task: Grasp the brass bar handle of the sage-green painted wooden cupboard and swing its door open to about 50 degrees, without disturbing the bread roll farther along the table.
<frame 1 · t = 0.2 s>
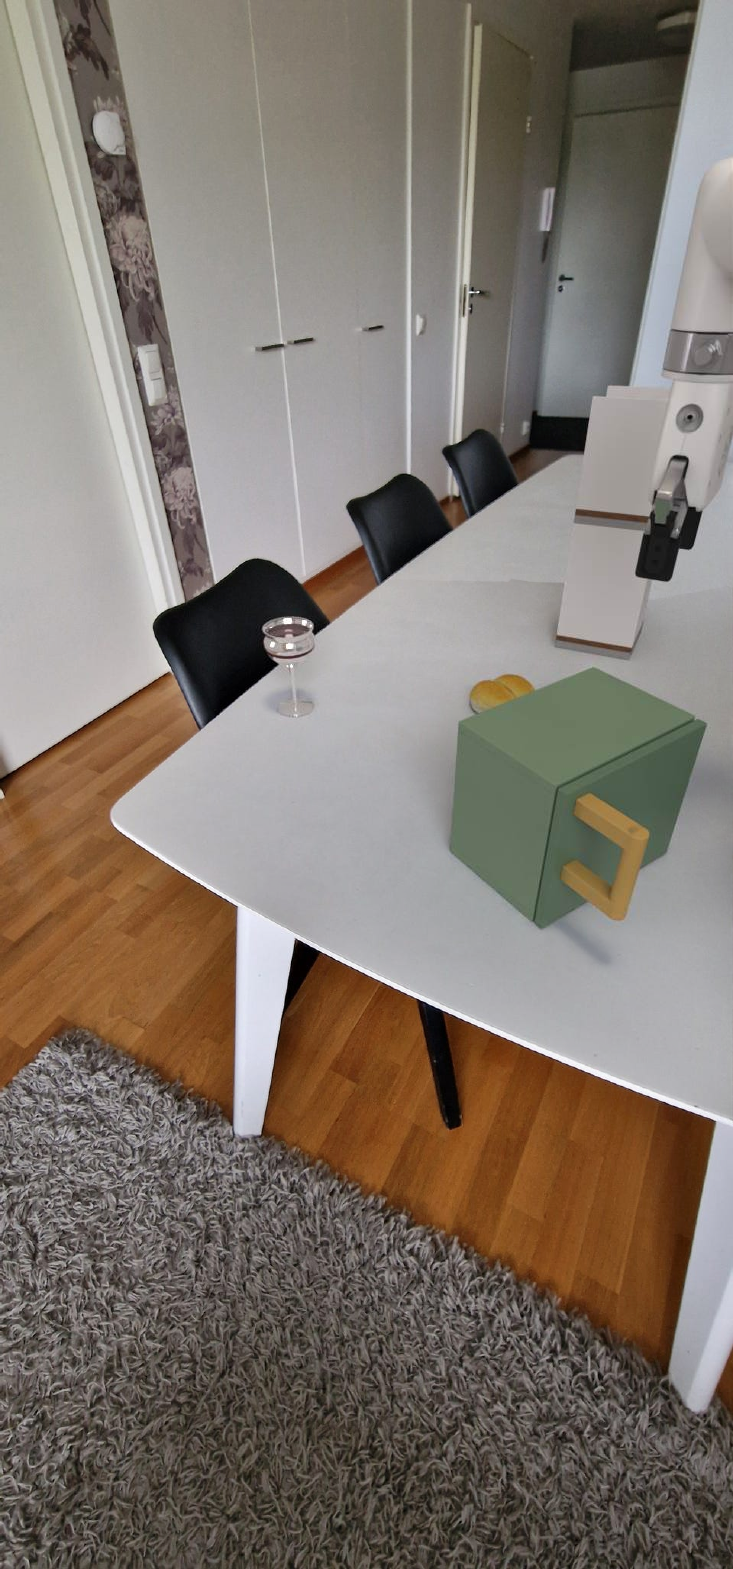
hand: (664, 562, 68), 26 cm above the table, tool pointing down, fingers open, 9 cm apart
cupboard: (552, 849, 74), on the table
tall white column: (598, 640, 113), on the table
cupboard door: (647, 843, 62), point 8 cm above the table, hinge at 0.0°
bread roll: (502, 707, 97), on the table
wineglass: (295, 708, 98), on the table
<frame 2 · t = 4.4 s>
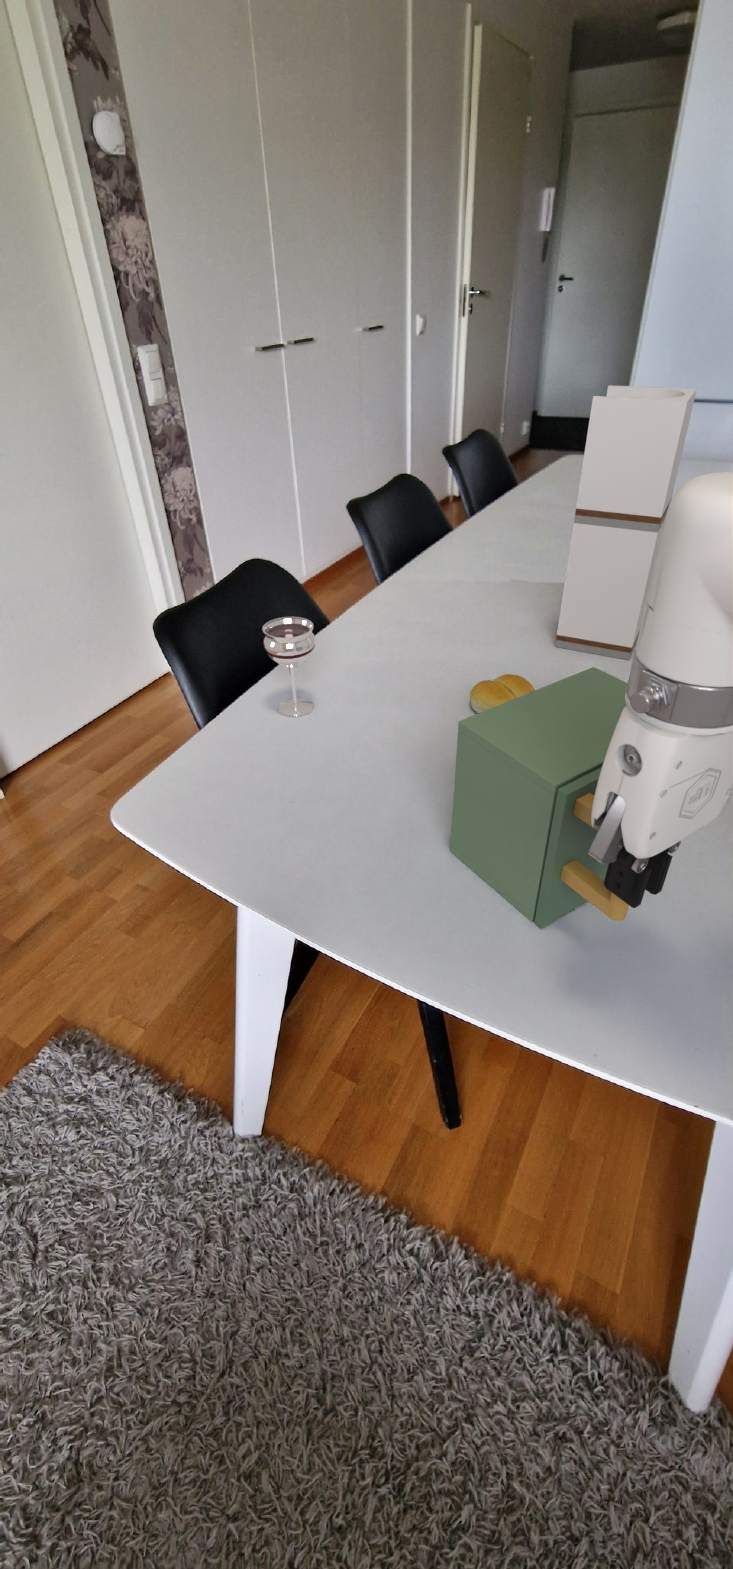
hand: (631, 888, 56), 9 cm above the table, tool pointing down, fingers closed on cupboard door
cupboard door: (647, 843, 62), point 8 cm above the table, hinge at 0.0°, touching gripper
everything else where it was.
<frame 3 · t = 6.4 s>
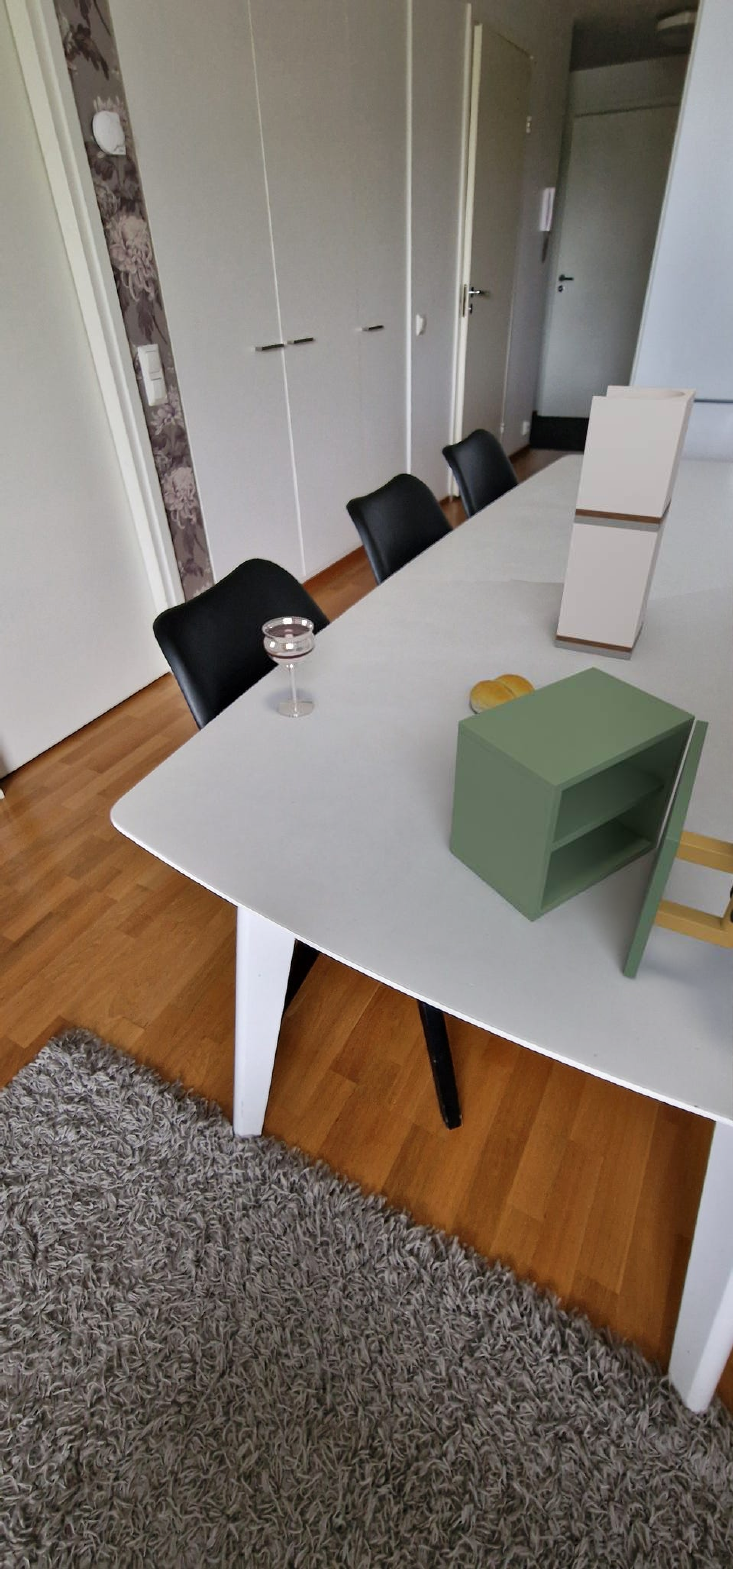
cupboard door: (705, 856, 61), point 8 cm above the table, hinge at 28.6°, touching gripper
everything else where it was.
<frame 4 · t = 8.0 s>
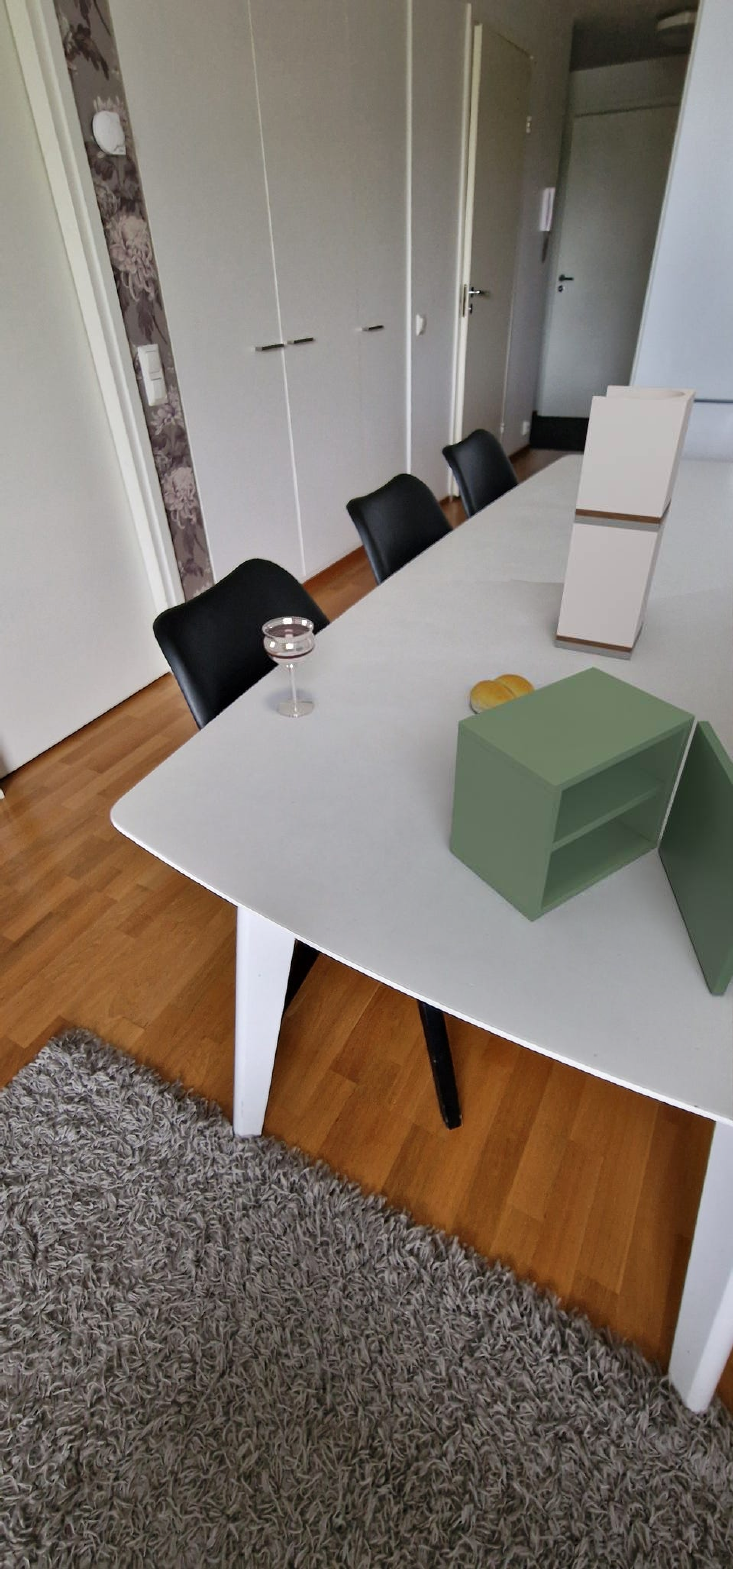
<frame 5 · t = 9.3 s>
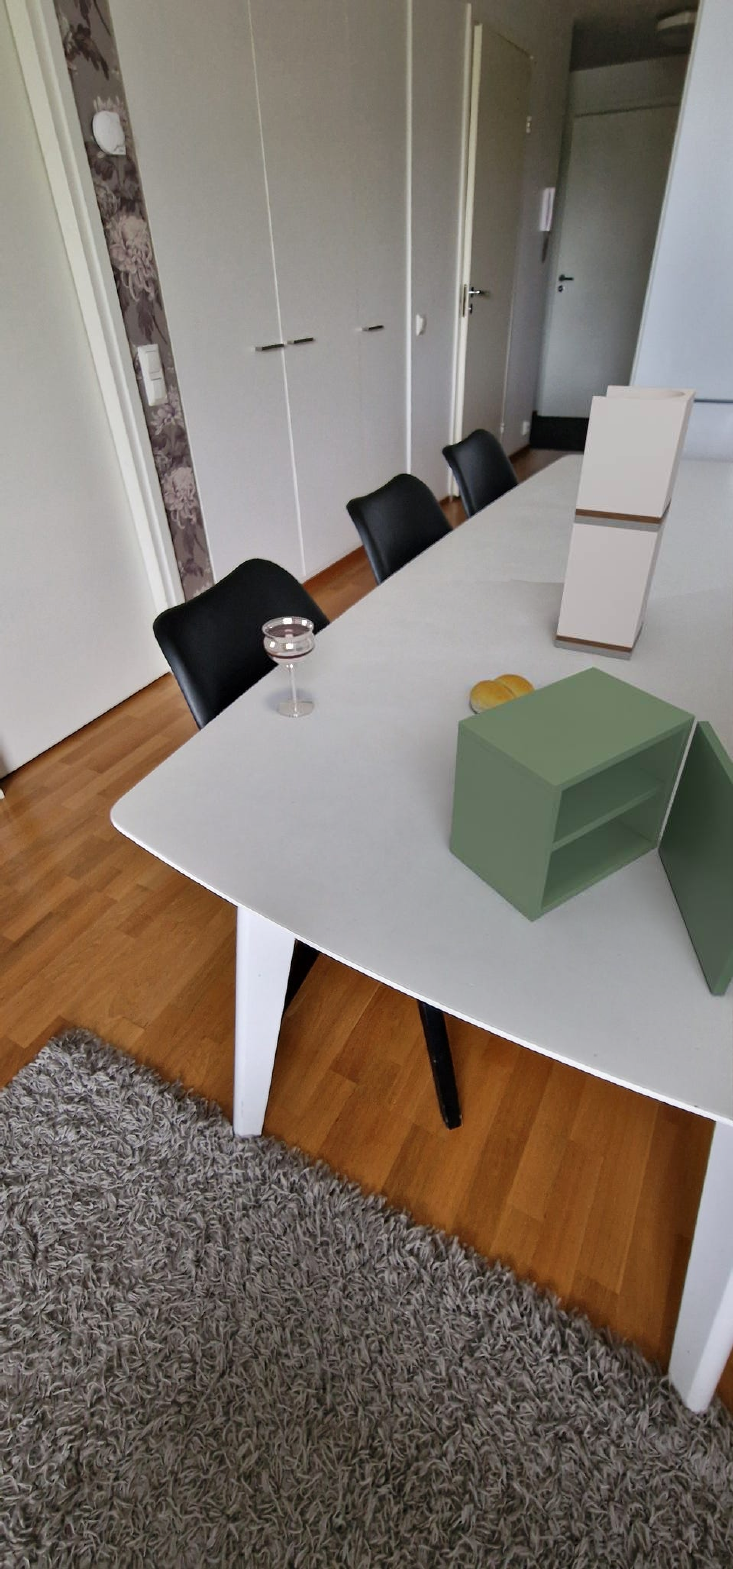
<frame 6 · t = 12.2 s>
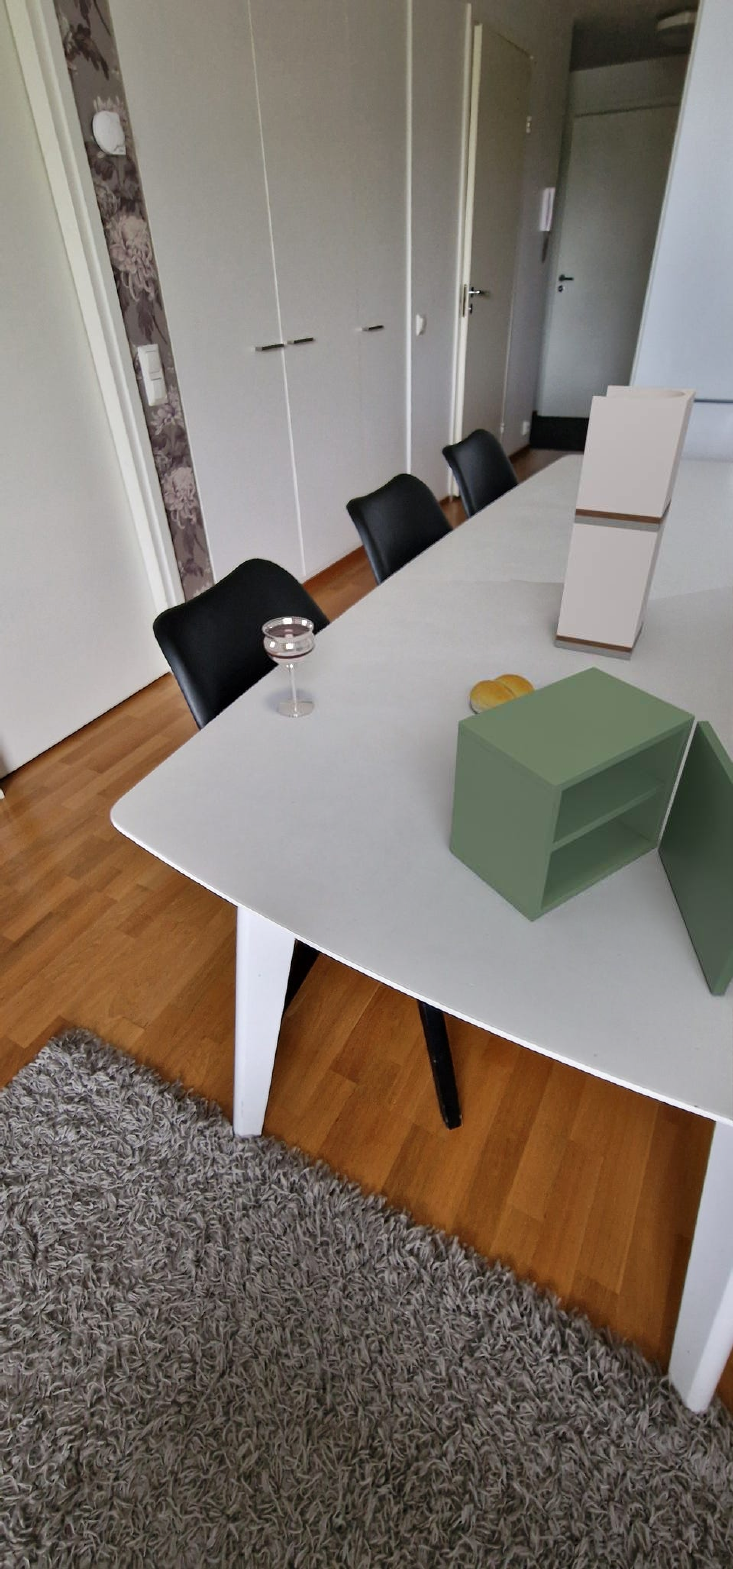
at the end: cupboard door at +51° (first picture: +0°); bread roll moved 0.2 cm from its start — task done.
